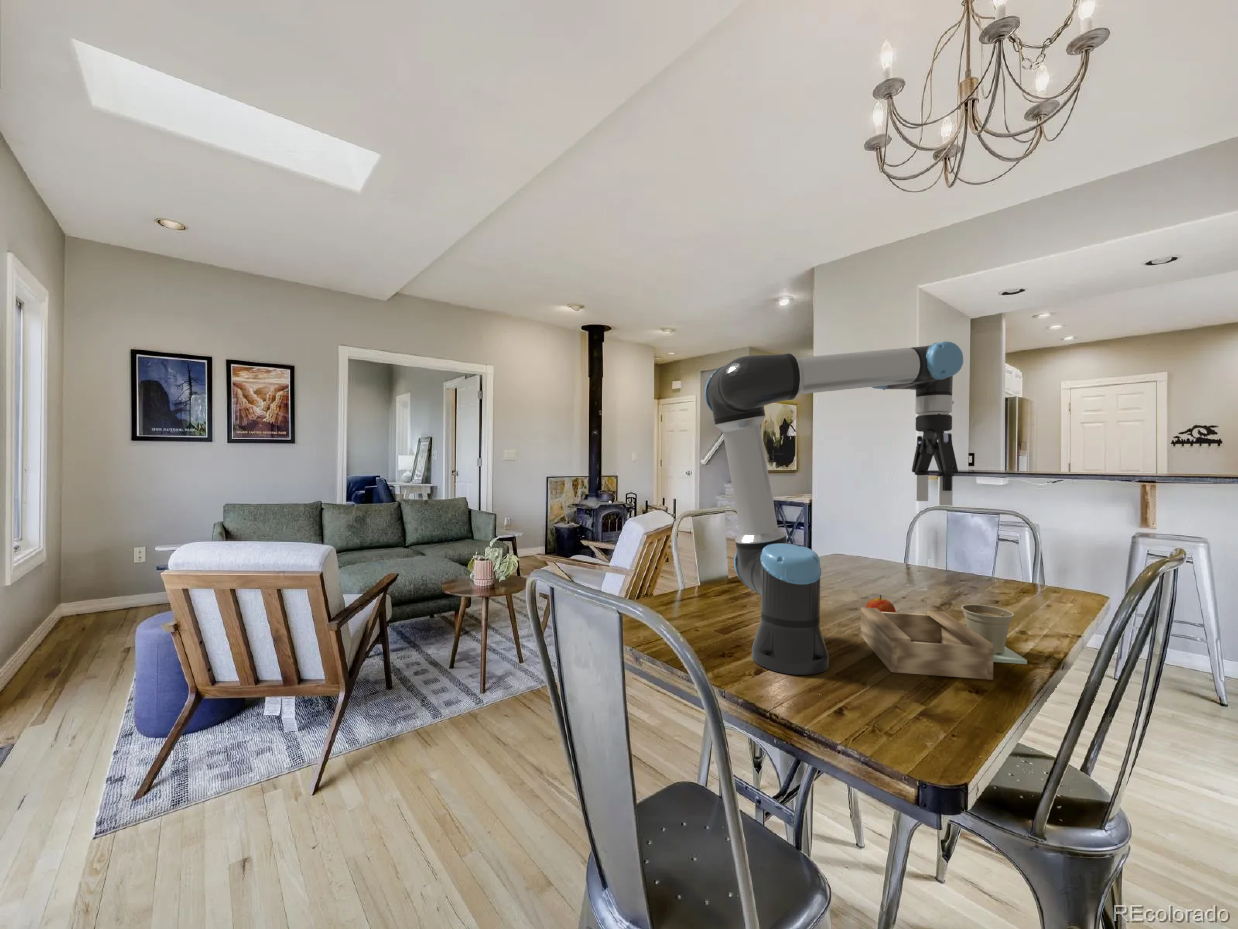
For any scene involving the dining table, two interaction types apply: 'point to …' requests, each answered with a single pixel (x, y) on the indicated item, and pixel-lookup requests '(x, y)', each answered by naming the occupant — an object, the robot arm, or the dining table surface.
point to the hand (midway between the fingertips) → (932, 503)
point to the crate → (927, 644)
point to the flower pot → (989, 623)
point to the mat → (1009, 657)
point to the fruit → (881, 605)
